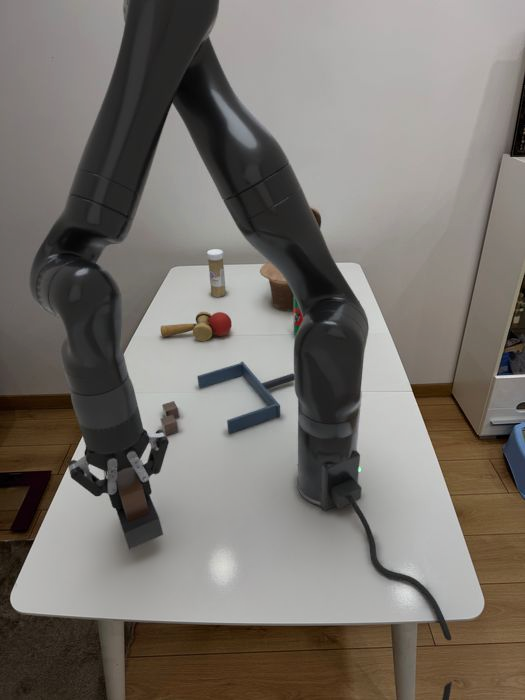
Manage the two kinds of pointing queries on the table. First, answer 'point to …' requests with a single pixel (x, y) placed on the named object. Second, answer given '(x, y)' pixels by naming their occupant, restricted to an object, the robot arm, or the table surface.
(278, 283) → the pitcher
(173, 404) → the crumb
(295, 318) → the soda can
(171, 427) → the crumb
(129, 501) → the eraser
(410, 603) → the table surface
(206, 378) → the frame
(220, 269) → the sprinkles bottle
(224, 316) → the kendama
